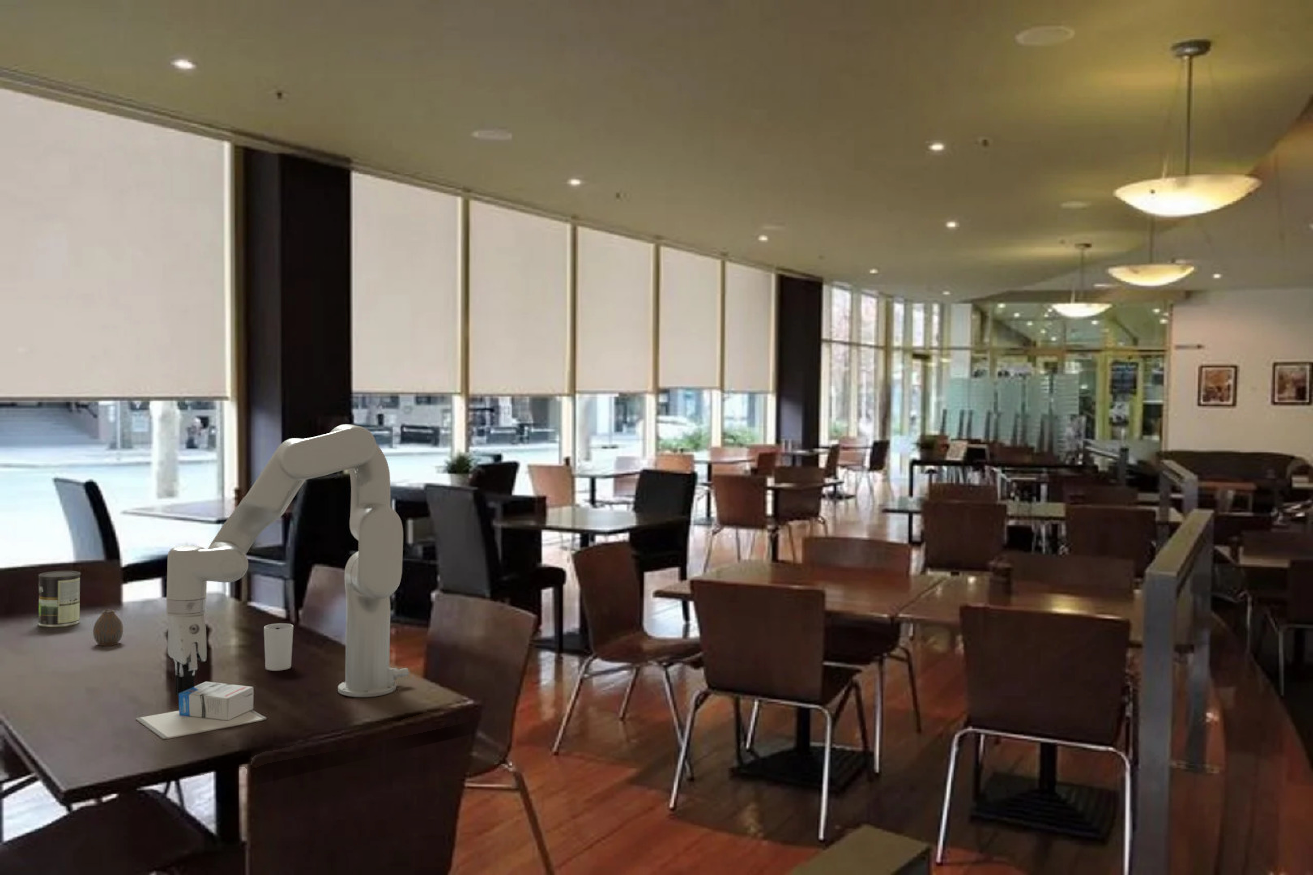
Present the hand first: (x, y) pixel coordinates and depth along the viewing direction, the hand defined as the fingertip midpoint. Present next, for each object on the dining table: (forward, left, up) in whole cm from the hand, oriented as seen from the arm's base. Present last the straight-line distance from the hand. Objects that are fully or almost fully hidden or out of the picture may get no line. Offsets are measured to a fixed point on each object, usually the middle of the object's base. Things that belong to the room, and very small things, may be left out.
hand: (184, 694), depth 219 cm
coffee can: (-2, -105, -4) cm, 105 cm away
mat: (0, +8, -4) cm, 9 cm away
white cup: (-29, -22, -4) cm, 37 cm away
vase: (-5, -71, -4) cm, 71 cm away
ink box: (-1, +1, -1) cm, 2 cm away
